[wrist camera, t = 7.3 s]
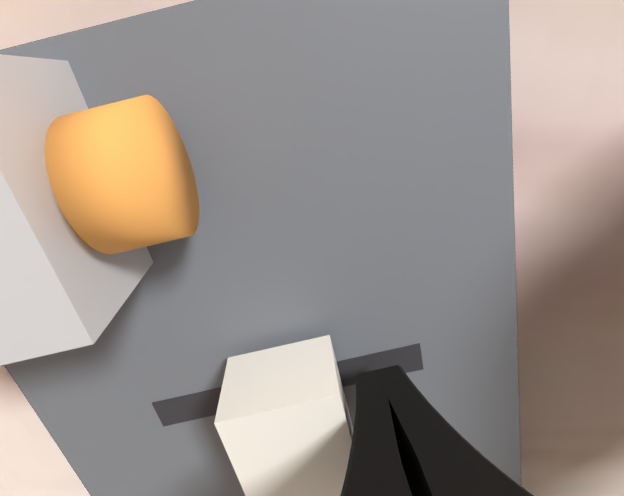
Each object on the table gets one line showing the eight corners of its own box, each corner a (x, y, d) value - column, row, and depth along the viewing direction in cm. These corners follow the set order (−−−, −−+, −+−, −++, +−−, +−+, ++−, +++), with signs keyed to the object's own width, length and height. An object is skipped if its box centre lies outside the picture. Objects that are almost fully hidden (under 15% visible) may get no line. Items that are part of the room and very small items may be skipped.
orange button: (166, 92, 9) (116, 97, 6) (208, 212, 10) (179, 258, 7) (96, 109, 9) (16, 121, 6) (144, 226, 10) (94, 278, 7)
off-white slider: (329, 334, 11) (339, 395, 9) (352, 425, 13) (366, 498, 11) (227, 357, 12) (214, 423, 9) (261, 445, 13) (256, 520, 11)
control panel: (484, -63, 9) (655, -187, 5) (510, 518, 17) (582, 660, 13) (-131, 93, 10) (-460, 102, 5) (175, 587, 18) (141, 746, 14)
